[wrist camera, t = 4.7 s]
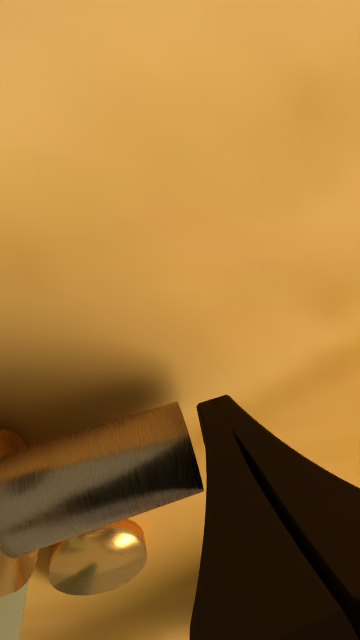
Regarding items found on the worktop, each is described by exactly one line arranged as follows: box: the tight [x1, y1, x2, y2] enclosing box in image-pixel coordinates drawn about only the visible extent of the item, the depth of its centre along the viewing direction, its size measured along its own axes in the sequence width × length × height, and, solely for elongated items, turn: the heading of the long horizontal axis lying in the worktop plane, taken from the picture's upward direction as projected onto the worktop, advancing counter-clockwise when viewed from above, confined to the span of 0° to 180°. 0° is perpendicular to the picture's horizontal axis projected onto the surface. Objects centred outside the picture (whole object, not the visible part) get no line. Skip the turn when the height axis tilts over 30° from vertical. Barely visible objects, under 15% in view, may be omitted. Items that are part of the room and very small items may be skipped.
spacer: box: [49, 519, 147, 595], centre depth 16 cm, size 5×5×1 cm
